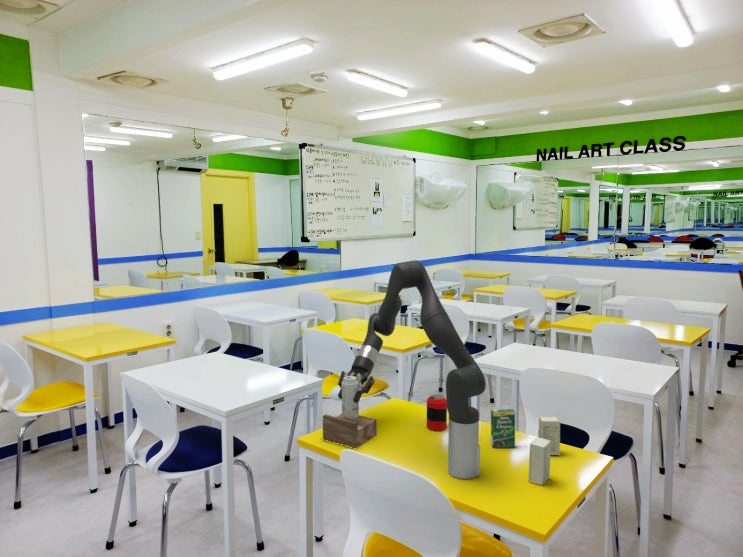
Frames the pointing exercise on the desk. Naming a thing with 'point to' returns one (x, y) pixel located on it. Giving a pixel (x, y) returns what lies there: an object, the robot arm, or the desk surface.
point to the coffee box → (503, 428)
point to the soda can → (436, 413)
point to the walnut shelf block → (349, 430)
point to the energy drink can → (349, 398)
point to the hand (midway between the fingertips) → (347, 400)
